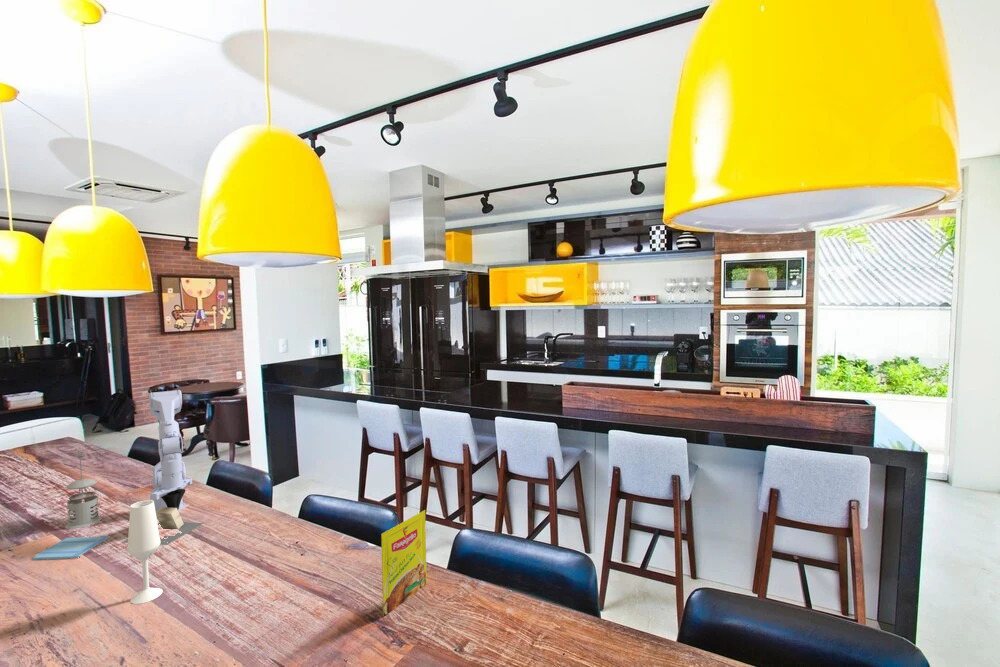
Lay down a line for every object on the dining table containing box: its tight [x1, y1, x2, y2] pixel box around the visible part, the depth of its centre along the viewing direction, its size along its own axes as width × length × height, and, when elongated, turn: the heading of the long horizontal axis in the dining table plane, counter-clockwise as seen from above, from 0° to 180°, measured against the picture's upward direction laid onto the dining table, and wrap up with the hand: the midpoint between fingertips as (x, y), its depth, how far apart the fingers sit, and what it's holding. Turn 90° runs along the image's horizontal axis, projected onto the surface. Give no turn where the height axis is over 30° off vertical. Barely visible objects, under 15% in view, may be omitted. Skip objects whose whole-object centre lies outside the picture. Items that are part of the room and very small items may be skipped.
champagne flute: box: [127, 499, 164, 605], centre depth 118 cm, size 7×7×24 cm
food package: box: [380, 509, 428, 618], centre depth 115 cm, size 15×1×20 cm, turn 148°
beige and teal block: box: [156, 507, 184, 529], centre depth 155 cm, size 6×3×7 cm, turn 82°
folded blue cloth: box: [32, 536, 111, 561], centre depth 144 cm, size 14×12×1 cm
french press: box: [64, 451, 103, 530], centre depth 162 cm, size 10×12×25 cm
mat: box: [122, 521, 205, 546], centre depth 153 cm, size 16×15×1 cm
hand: (173, 512), depth 156 cm, fingers closed
